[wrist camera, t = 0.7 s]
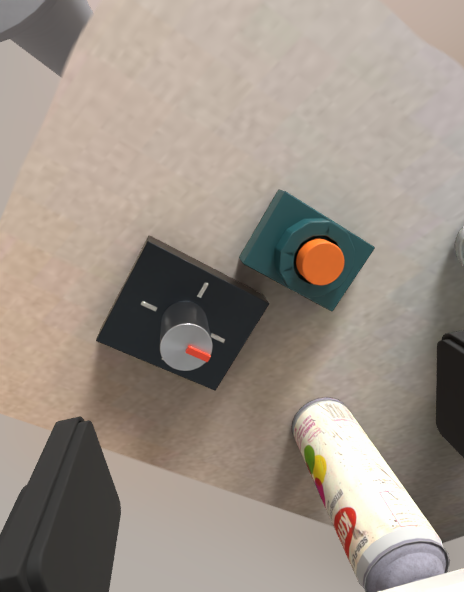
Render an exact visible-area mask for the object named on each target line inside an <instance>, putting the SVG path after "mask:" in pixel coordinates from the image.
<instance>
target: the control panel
mask: <svg viewBox="0 0 464 592" xmlns="http://www.w3.org/2000/svg"><path fill="white" fill-rule="evenodd" d="M182 301H188V302H192V303H195V304H197V305H198V306H200V307H201V308H202V309H203V311H204V312H205V314H206V318H207V322H208V326H209V331H210V335H211V339H212V353H211V357H210V359H209V361H208V362H205V363H204V364H203V365H202V366H200V367H198V368H196V369H193V370H188V371H183V370H177V369H174V368H172V367H171V366H169V365H168V364H167V363H166V362H165V361H164V360H163V358H162V356H161V353H160V336H161V320H162V316H163V314H164V312H165V311H166V309H167V308H168V307H169V306H171V305H172V304H174V303H177V302H182ZM268 305H269V303H268V301H267V300H266V298H265V297H264V295H263V294H261V293H259V292H257V291H255V290H253V289H251V288H249V287H247V286H246V285H244V284H242V283H240V282H238V281H236V280H234V279H232V278H230V277H228V276H226V275H224V274H223V273H221V272H219V271H217V270H215V269H213V268H211V267H209V266H207V265H205V264H203V263H201V262H200V261H198V260H196V259H194V258H192V257H190V256H188V255H186V254H184V253H182V252H180V251H178V250H177V249H175V248H173V247H171V246H169V245H167V244H165V243H163V242H161V241H159V240H157V239H155V238H153V237H152V236H148V238H147V240H146V242H145V244H144V246H143V248H142V250H141V252H140V254H139V256H138V258H137V260H136V262H135V263H134V265H133V267H132V269H131V271H130V273H129V275H128V277H127V279H126V281H125V283H124V285H123V287H122V289H121V291H120V292H119V294H118V296H117V298H116V300H115V302H114V304H113V306H112V308H111V310H110V312H109V314H108V316H107V318H106V320H105V321H104V323H103V325H102V327H101V329H100V332H99V334H98V337H97V339H96V341H98V342H100V343H103V344H105V345H107V346H110V347H112V348H114V349H117V350H119V351H122V352H124V353H126V354H129V355H131V356H134V357H136V358H138V359H141V360H143V361H146V362H148V363H150V364H153V365H155V366H158V367H160V368H162V369H165V370H167V371H170V372H172V373H174V374H177V375H179V376H182V377H184V378H186V379H189V380H191V381H194V382H196V383H198V384H201V385H203V386H206V387H208V388H210V389H213V390H216V389H217V387H218V385H219V384H220V382H221V381H222V379H223V377H224V376H225V374H226V373H227V371H228V369H229V368H230V366H231V365H232V363H233V361H234V360H235V358H236V357H237V355H238V353H239V352H240V350H241V349H242V347H243V345H244V344H245V342H246V340H247V339H248V337H249V336H250V334H251V332H252V331H253V329H254V328H255V326H256V324H257V323H258V321H259V320H260V318H261V316H262V315H263V313H264V312H265V310H266V308H267V307H268Z"/></svg>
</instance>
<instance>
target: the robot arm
mask: <svg viewBox="0 0 464 592" xmlns="http://www.w3.org/2000/svg"><path fill="white" fill-rule="evenodd" d="M436 425H437V428H438V430H439V432H440V434H441V435H442V436H443V437H444V438H445V439H446V440H447V441H448V442H449V443H450V444H451V445H452V446H453V447H454V448H455V449H456V450H457V451H458V452H459V454H460V455H461V456H462V457H463V458H464V330H461V331H456V332H452V333H447V334H445V335H443V337H442V340H441V341H439V342H438V344H437V386H436ZM120 515H121V507H120V501H119V497H118V494H117V492H116V489H115V486H114V483H113V480H112V477H111V475H110V472H109V469H108V466H107V463H106V461H105V458H104V455H103V452H102V449H101V446H100V444H99V441H98V438H97V435H96V432H95V430H94V427H93V424H92V422H91V421H89V420H88V421H84V419H83V418H82V417H75V418H71V419H67V420H62V421H58V422H56V424H55V426H54V428H53V430H52V432H51V435H50V436H49V439H48V441H47V443H46V445H45V448H44V449H43V452H42V454H41V456H40V458H39V461H38V463H37V465H36V467H35V469H34V471H33V474H32V476H31V478H30V480H29V482H28V484H27V485H26V486H25V487H23V489H22V490H21V492H20V494H19V496H18V498H17V500H16V502H15V504H14V507H13V509H12V511H11V513H10V515H9V517H8V519H7V521H6V523H5V526H4V528H3V530H2V532H1V534H0V592H109V587H110V580H111V574H112V567H113V561H114V554H115V548H116V541H117V535H118V529H119V522H120ZM379 592H464V568H462V569H459V570H455V571H452V572H448V573H444V574H441V575H437V576H433V577H430V578H426V579H422V580H419V581H415V582H412V583H408V584H404V585H401V586H397V587H393V588H390V589H386V590H383V591H379Z"/></svg>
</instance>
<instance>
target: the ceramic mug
mask: <svg viewBox="0 0 464 592" xmlns="http://www.w3.org/2000/svg"><path fill="white" fill-rule="evenodd" d="M455 252H456V255H457V257H458V259H459V261H460V263H461V264H462V266H463V267H464V227H463V228H462V229H461V230H460V232H459V233H458V235H457V238H456V241H455Z"/></svg>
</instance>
